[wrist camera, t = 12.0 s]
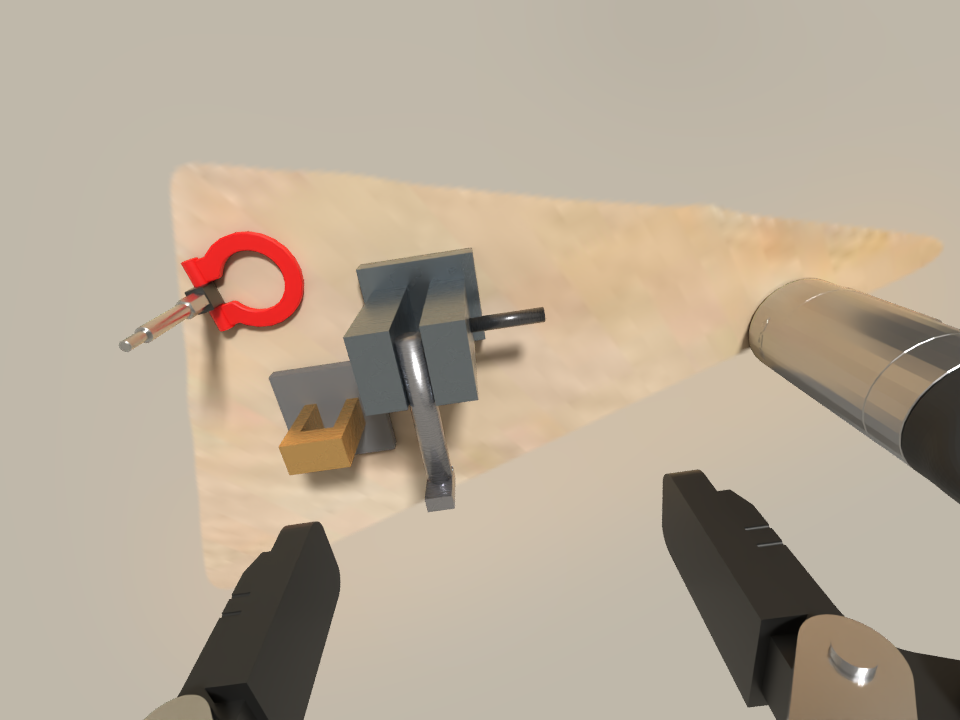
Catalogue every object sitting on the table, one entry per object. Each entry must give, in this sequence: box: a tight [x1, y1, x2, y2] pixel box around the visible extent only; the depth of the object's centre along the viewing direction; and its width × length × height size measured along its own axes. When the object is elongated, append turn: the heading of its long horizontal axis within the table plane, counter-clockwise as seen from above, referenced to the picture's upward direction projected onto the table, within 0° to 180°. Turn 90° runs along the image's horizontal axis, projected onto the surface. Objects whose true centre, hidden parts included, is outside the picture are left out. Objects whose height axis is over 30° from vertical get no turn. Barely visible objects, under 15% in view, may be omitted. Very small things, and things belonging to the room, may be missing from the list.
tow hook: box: [119, 231, 304, 352], centre depth 36 cm, size 8×13×9 cm
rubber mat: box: [269, 361, 396, 455], centre depth 46 cm, size 10×10×1 cm
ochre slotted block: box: [279, 398, 366, 475], centre depth 43 cm, size 5×3×7 cm, turn 98°
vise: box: [343, 248, 545, 512], centre depth 37 cm, size 15×16×14 cm
